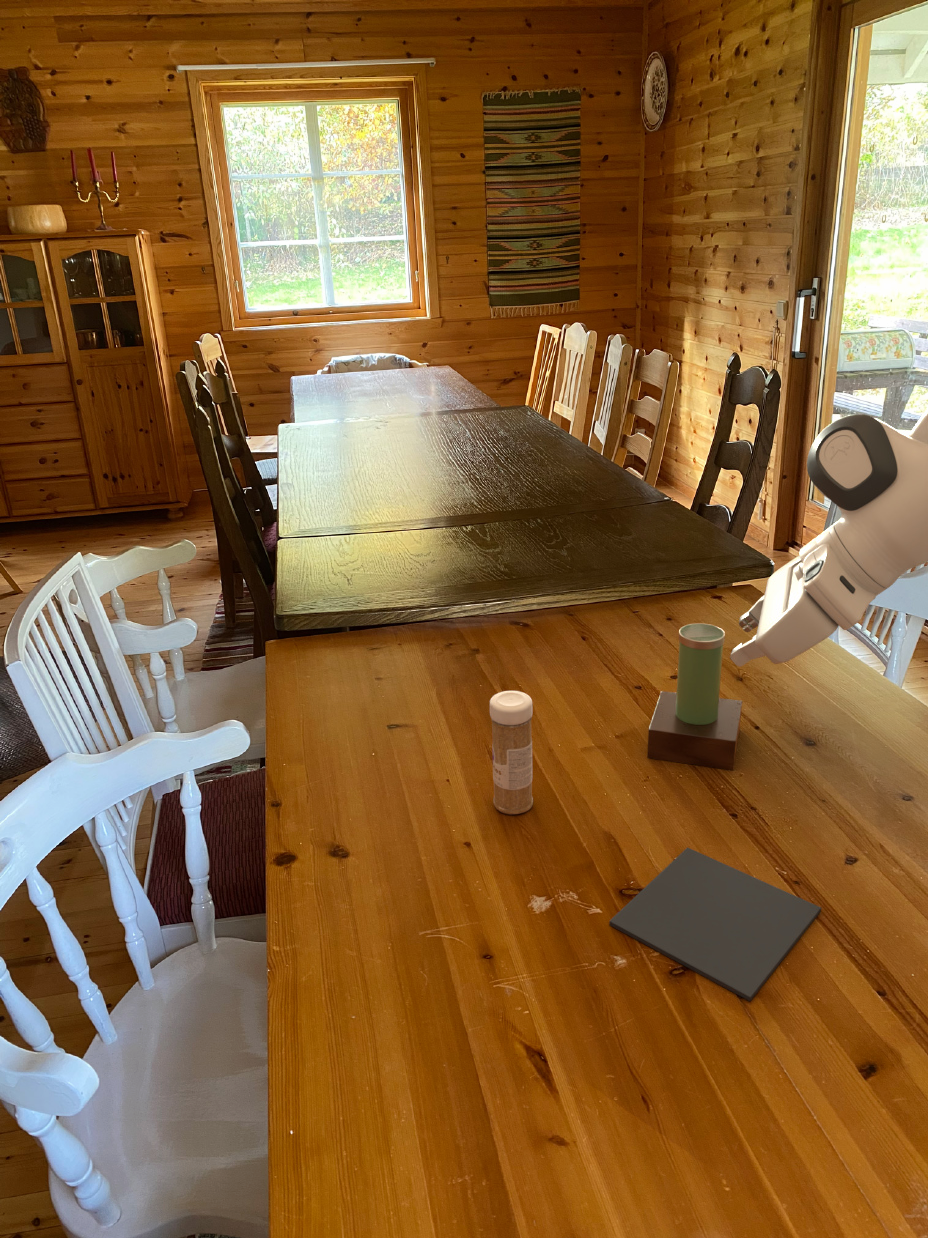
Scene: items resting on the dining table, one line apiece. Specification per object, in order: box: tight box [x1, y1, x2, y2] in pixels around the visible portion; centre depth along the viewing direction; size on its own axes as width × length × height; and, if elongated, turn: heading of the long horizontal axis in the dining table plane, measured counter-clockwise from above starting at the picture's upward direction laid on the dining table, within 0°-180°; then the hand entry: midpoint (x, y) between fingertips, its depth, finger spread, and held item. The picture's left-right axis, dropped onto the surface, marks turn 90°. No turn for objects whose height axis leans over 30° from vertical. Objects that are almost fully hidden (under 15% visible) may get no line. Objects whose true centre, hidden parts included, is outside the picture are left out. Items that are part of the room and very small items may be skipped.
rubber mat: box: [608, 847, 822, 1002], centre depth 85 cm, size 14×14×1 cm
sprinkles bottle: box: [489, 690, 534, 815], centre depth 100 cm, size 5×5×14 cm
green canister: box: [676, 623, 726, 725], centre depth 109 cm, size 5×5×11 cm
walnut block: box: [646, 690, 743, 771], centre depth 112 cm, size 10×10×4 cm
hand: (738, 642), depth 107 cm, fingers open, 8 cm apart
